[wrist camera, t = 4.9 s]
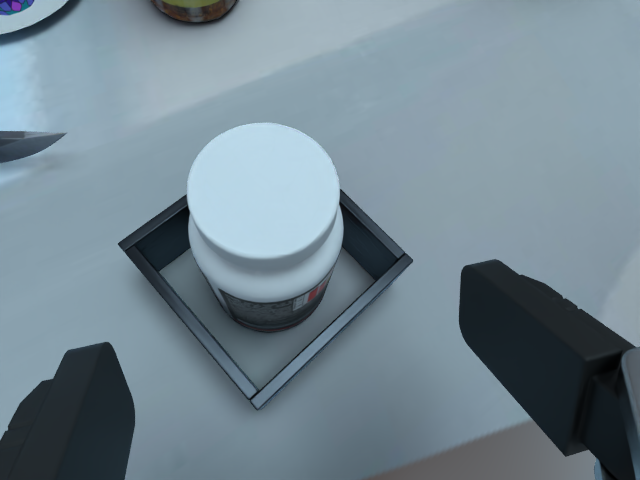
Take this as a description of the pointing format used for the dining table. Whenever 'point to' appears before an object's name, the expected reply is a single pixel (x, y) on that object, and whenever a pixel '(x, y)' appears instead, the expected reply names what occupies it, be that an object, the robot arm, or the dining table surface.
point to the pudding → (25, 12)
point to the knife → (24, 143)
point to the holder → (151, 256)
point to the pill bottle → (265, 223)
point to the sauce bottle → (194, 9)
